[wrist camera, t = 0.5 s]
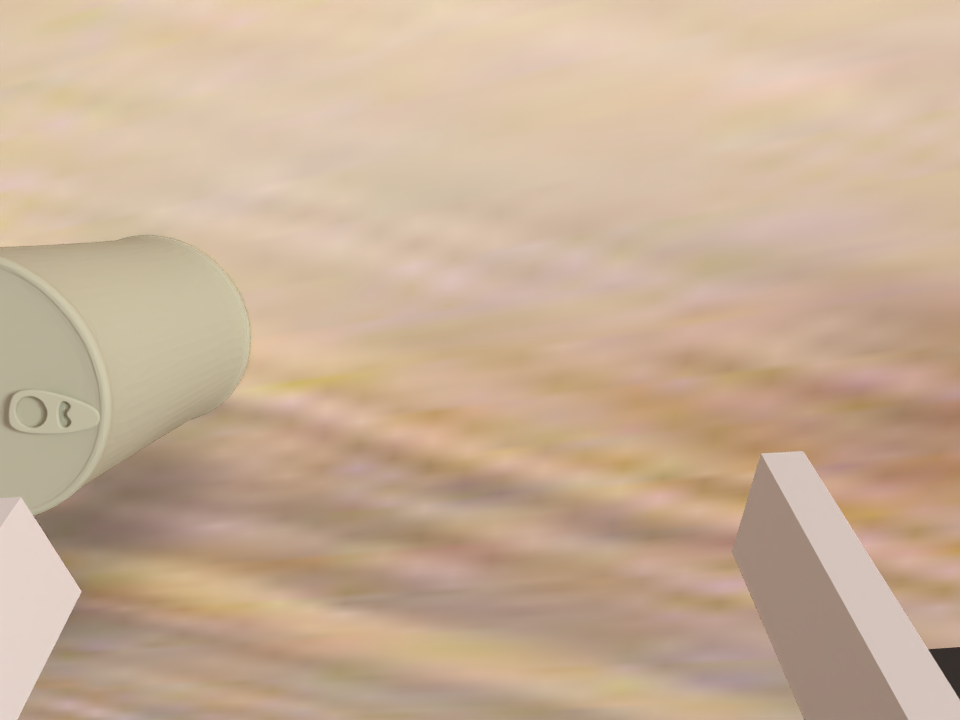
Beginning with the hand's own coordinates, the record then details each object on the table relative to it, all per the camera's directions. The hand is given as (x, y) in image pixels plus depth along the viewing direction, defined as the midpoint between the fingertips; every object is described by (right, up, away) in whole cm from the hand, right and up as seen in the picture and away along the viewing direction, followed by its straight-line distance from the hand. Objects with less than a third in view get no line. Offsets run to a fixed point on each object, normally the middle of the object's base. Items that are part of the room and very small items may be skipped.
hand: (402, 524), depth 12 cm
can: (-14, +5, +20) cm, 25 cm away
